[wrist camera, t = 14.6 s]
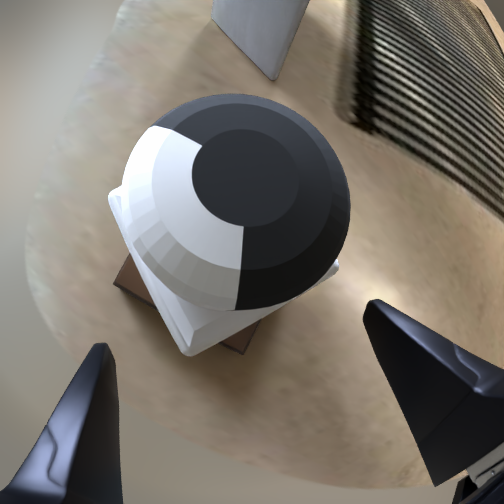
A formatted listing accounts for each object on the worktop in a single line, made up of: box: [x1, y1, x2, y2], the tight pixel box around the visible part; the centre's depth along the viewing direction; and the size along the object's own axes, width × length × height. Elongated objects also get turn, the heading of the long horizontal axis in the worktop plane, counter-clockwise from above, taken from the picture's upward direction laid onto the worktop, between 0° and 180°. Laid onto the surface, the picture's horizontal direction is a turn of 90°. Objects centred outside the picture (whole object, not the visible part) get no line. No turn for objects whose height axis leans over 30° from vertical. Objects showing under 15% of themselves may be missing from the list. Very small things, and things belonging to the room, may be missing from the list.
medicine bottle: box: [108, 94, 351, 357], centre depth 13 cm, size 7×7×12 cm
